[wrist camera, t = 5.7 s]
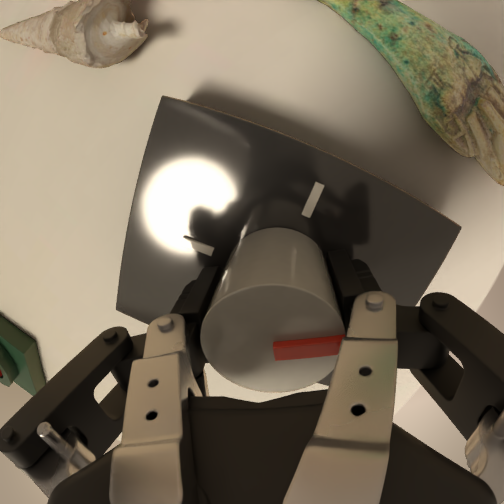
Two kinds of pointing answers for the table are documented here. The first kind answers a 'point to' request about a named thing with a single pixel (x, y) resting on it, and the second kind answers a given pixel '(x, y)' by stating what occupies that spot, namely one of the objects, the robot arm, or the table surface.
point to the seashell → (83, 32)
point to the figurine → (437, 77)
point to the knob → (274, 314)
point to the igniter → (19, 359)
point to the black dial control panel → (262, 209)
